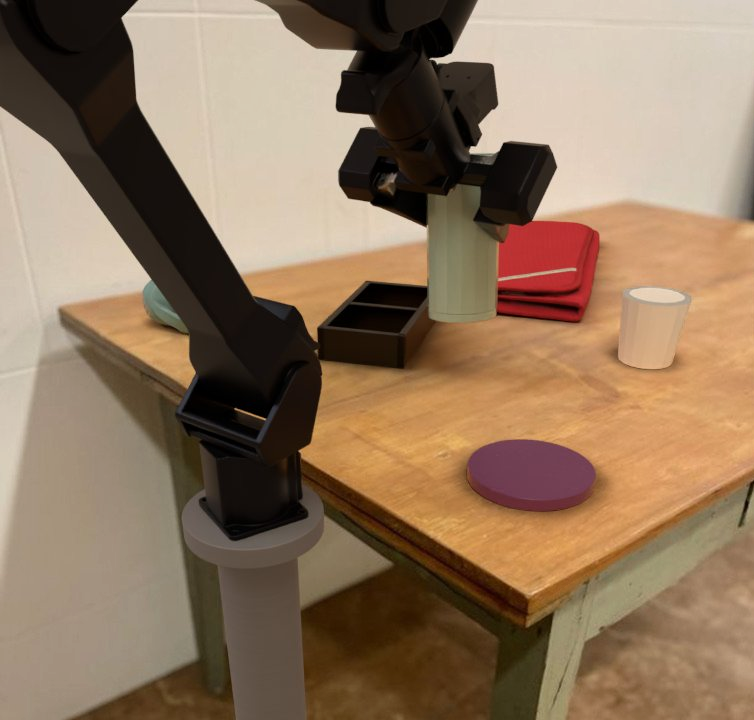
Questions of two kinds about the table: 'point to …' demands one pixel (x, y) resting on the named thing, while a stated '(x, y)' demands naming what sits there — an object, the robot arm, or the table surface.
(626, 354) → the white cup
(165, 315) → the stuffed animal
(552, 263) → the dish drying mat
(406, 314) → the compartment tray
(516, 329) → the table surface
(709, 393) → the table surface
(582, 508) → the table surface
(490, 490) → the lid
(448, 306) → the tumbler
